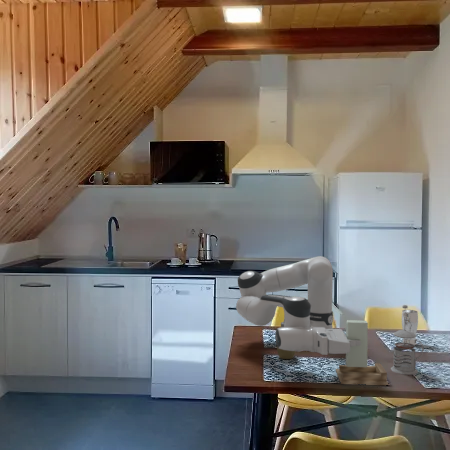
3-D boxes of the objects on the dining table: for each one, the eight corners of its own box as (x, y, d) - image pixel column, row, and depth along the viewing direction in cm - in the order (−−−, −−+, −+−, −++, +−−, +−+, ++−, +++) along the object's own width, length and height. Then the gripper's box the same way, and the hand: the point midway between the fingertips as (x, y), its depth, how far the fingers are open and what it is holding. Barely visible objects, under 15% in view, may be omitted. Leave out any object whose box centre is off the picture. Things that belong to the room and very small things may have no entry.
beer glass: (415, 342, 220) (415, 309, 220) (419, 346, 213) (420, 313, 213) (399, 341, 221) (400, 309, 221) (403, 345, 214) (404, 312, 214)
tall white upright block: (347, 366, 171) (347, 322, 171) (345, 363, 175) (346, 320, 174) (367, 367, 170) (367, 322, 170) (365, 364, 174) (365, 320, 173)
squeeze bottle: (297, 355, 199) (298, 312, 199) (294, 361, 192) (294, 317, 191) (278, 353, 202) (279, 311, 202) (274, 359, 194) (274, 315, 194)
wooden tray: (341, 383, 167) (341, 372, 167) (335, 371, 180) (335, 360, 180) (387, 385, 166) (388, 374, 165) (379, 372, 179) (379, 362, 178)
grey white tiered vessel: (393, 364, 188) (394, 301, 188) (424, 369, 183) (425, 304, 182) (388, 371, 180) (388, 305, 179) (421, 377, 174) (422, 309, 173)
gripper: (317, 340, 184) (354, 341, 183) (323, 356, 164) (364, 357, 162) (317, 324, 184) (354, 325, 182) (323, 338, 163) (364, 339, 162)
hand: (359, 340), depth 172 cm, fingers closed on tall white upright block, 3 cm apart
